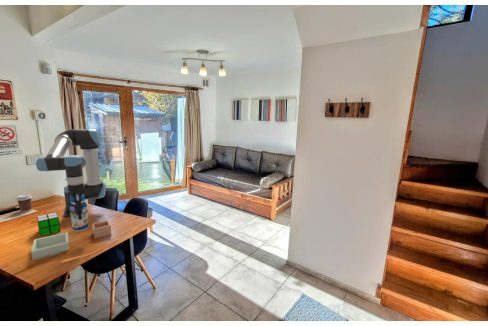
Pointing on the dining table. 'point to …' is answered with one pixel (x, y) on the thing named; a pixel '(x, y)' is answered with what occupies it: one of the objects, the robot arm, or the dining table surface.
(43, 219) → the puzzle cube
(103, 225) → the pink box
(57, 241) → the green box
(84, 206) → the beverage bottle
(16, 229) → the dining table surface
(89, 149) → the robot arm
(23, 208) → the coffee cup
